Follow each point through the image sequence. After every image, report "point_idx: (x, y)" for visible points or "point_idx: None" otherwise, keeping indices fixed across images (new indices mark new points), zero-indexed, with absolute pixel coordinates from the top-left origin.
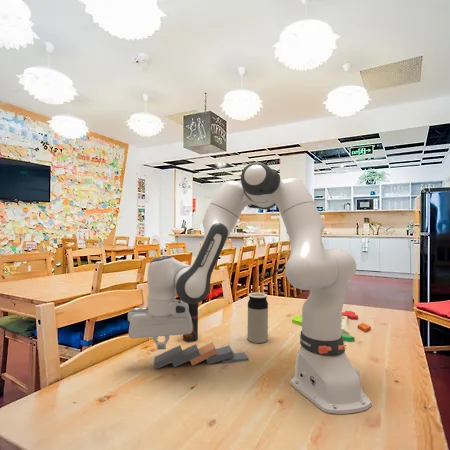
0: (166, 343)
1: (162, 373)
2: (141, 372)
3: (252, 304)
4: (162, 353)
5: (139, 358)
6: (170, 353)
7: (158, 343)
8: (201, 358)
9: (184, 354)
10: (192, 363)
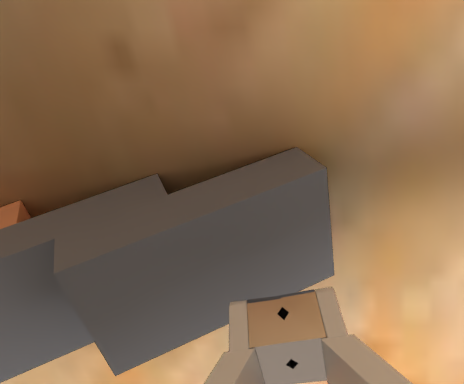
0: (220, 358)
1: (235, 78)
2: (423, 96)
3: None
4: None
5: (435, 290)
6: (187, 275)
7: (328, 358)
8: None
9: None
10: (9, 212)
